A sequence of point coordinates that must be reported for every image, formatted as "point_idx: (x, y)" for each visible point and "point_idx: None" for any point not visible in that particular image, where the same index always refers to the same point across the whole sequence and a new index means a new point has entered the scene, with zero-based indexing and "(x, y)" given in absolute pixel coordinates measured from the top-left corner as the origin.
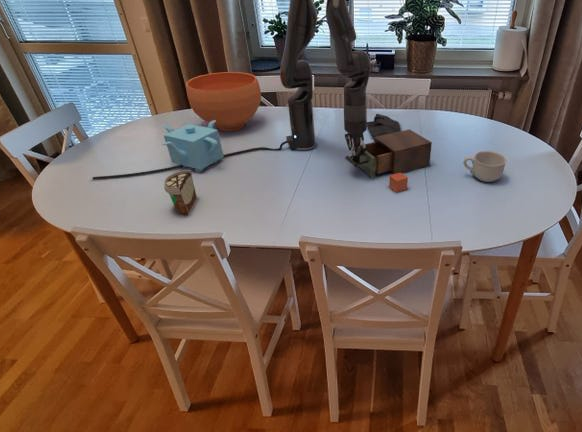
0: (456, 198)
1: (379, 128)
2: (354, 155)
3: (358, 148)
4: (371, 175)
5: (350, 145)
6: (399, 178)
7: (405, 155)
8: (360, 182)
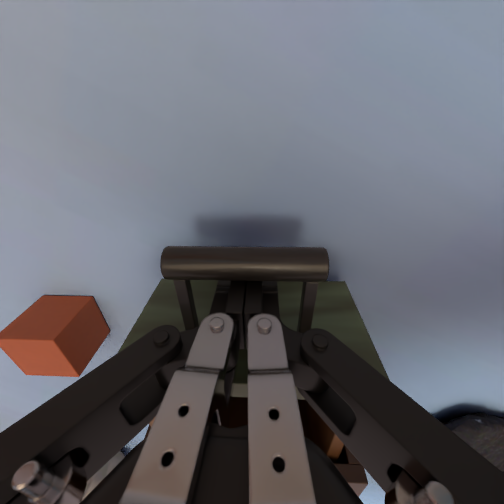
0: (4, 386)
1: (500, 460)
2: (212, 316)
3: (58, 434)
4: (165, 284)
5: (262, 400)
6: (18, 354)
7: None
8: (161, 217)
